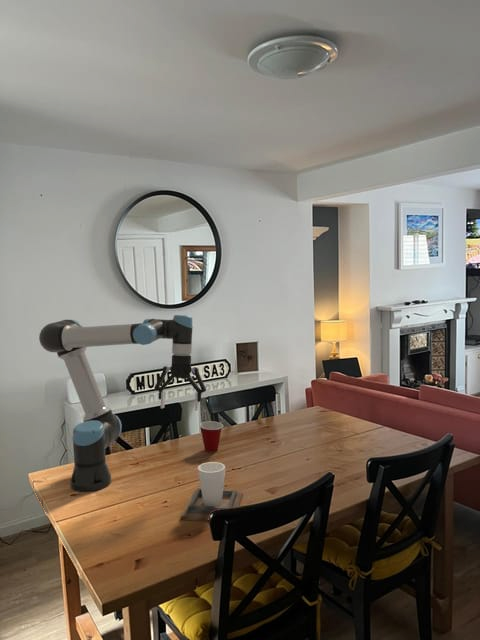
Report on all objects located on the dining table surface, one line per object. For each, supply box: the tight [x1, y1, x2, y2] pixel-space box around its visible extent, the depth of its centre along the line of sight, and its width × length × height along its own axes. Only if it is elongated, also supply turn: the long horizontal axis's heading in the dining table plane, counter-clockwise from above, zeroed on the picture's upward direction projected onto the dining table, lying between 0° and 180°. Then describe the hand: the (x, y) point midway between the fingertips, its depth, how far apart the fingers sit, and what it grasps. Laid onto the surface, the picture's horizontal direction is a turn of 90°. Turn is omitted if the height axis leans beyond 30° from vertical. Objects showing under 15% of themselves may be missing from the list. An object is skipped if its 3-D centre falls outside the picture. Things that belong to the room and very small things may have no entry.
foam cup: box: [197, 461, 226, 506], centre depth 182 cm, size 10×9×13 cm
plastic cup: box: [199, 420, 224, 453], centre depth 237 cm, size 11×11×12 cm
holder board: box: [180, 487, 244, 522], centre depth 182 cm, size 18×20×3 cm
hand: (179, 409), depth 206 cm, fingers open, 13 cm apart
